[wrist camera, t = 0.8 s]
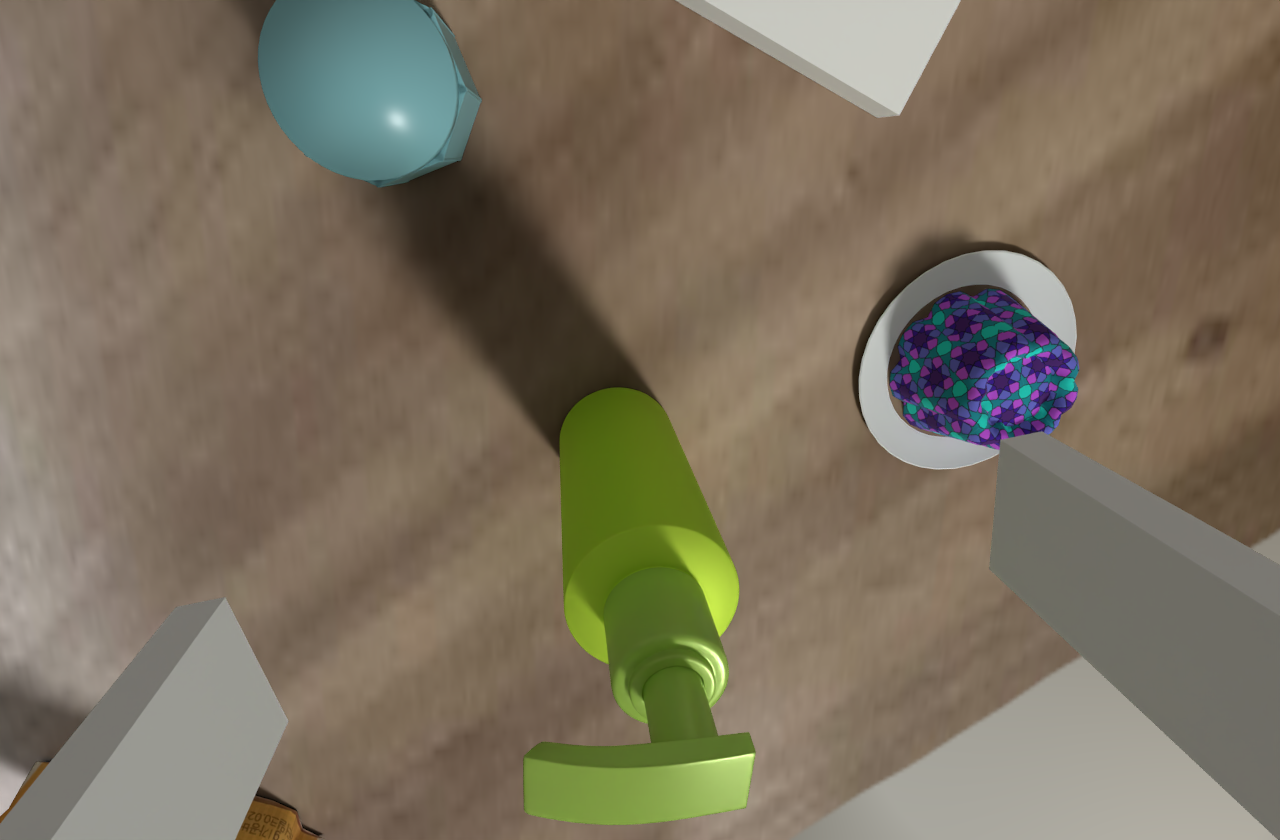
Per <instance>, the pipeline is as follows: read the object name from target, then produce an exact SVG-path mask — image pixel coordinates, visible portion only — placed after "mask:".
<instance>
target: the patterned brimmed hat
mask: <svg viewBox="0 0 1280 840" xmlns="http://www.w3.org/2000/svg"><path fill="white" fill-rule="evenodd" d="M969 285H992V286H997V287H1001V288H1003V289H1006V290H1008V291H1010V292H1012V293H1013V294H1015V295H1016V296H1017V297H1019V298H1020V299H1021V300H1022V301H1023V302H1024V303H1025V304H1026V306H1027V307H1028V308H1029V310H1030V312H1031V313H1032V314H1031V313H1030V312H1028V311H1027V310H1026V309H1025V308H1023V307H1022V306H1021V305H1020V304H1019V303H1017V302H1016V301H1015V300H1014V299H1012V298H1011V297H1010V296H1009V295H1007V294H1006V293H1004V292H1002V291H1001V290H997V289H985V290H984V291H982V292H980V293H979V294H977V295H975V296H974V297H971V296H969V295H967V294H965V293H963V292H961V291H960V292H955V293H951V294H947V295H946V296H944V297H943V298H941V299H940V300H938V301H937V302H936V303H935V304H934V306H933V308H932V310H931V312H930V314H929V316H928V318H925V319H921V320H918V321H915V322H913V323H912V324H911V325H910V326H909V327H908V328H907V330H906V331H905V332H904V333H903V335H902V337H901V340H900V342H899V345H898V349H899V354H900V359H901V360H900V361H899V363H898V364H897V365H896V366H895V368H894V369H893V370H892V371H891V376H890V384H889V385H890V388H891V391H892V395H893V396H894V397H896V398H897V399H899V400H901V401H903V402H904V411H903V416H904V417H905V418H906V420H907V421H908V422H909V424H911V425H913V426H915V427H918V428H920V429H923V430H927V431H930V432H934V433H937V434H941V435H944V436H948V437H937V436H930V435H927V434H924V433H921V432H918V431H916V430H915V429H913V428H911V427H910V426H908V425H907V424H906V423H905V422H904V421H903V420H902V419H901V418H900V417H899V415H898V414H897V412H896V411H895V410H894V408H893V405H892V403H891V400H890V398H889V393H888V388H887V370H888V364H889V359H890V356H891V353H892V350H893V347H894V345H895V343H896V341H897V339H898V337H899V335H900V333H901V332H902V330H903V329H904V328H905V326H906V325H907V323H908V322H909V321H910V319H911V318H912V317H913V316H914V315H915V314H916V313H917V312H918V311H919V310H920V309H921V308H923V307H924V306H925V305H927V304H928V303H929V302H931V301H932V300H933V299H935V298H937V297H939V296H940V295H942V294H944V293H946V292H948V291H951V290H954V289H957V288H959V287H964V286H969ZM1076 338H1077V336H1076V318H1075V314H1074V310H1073V306H1072V302H1071V300H1070V298H1069V296H1068V294H1067V292H1066V290H1065V288H1064V286H1063V285H1062V283H1061V282H1060V281H1059V280H1058V278H1057V277H1056V276H1055V275H1054V273H1053V272H1051V271H1050V270H1049V269H1048V268H1046V267H1045V266H1044V265H1042V264H1041V263H1040V262H1038V261H1036V260H1034V259H1032V258H1029V257H1027V256H1025V255H1023V254H1018V253H1014V252H1009V251H996V250H984V251H979V252H973V253H968V254H963V255H961V256H958V257H955V258H952V259H950V260H947V261H944V262H942V263H941V264H939V265H937V266H935V267H933V268H932V269H930V270H928V271H926V272H925V273H923V274H922V275H921V276H919V277H918V278H917V279H915V280H914V281H913V282H912V283H910V284H909V285H908V286H907V287H906V288H905V289H904V290H903V291H902V292H901V293H900V294H899V295H898V296H897V297H896V298H895V299H894V300H893V301H892V302H891V303H890V305H889V306H888V308H887V309H886V310H885V312H884V313H883V315H882V316H881V317H880V319H879V320H878V322H877V324H876V326H875V328H874V330H873V332H872V334H871V336H870V338H869V339H868V342H867V345H866V348H865V351H864V354H863V357H862V362H861V368H860V374H859V399H860V404H861V409H862V414H863V416H864V419H865V421H866V423H867V426H868V428H869V430H870V432H871V433H872V434H873V436H874V437H875V439H876V440H877V441H878V443H879V444H880V445H881V446H882V447H884V448H885V449H886V450H887V451H888V452H889V453H890V454H892V455H893V456H895V457H897V458H898V459H900V460H902V461H904V462H906V463H909V464H912V465H915V466H918V467H923V468H930V469H955V468H960V467H965V466H970V465H973V464H976V463H979V462H982V461H984V460H987V459H990V458H992V457H994V456H995V455H997V454H999V450H1000V440H1002V439H1007V438H1012V437H1017V436H1021V435H1026V434H1031V433H1036V432H1041V431H1042V432H1044V433H1046V434H1047V435H1049V434H1050V433H1051V432H1052V431H1053V430H1054V429H1055V428H1056V427H1057V426H1058V424H1059V420H1060V417H1061V415H1062V414H1063V413H1065V412H1066V411H1067V410H1069V409H1070V408H1071V407H1072V405H1073V404H1074V402H1075V400H1076V398H1077V393H1078V387H1077V385H1076V383H1075V382H1074V380H1075V378H1076V376H1077V374H1078V371H1079V365H1078V359H1077V357H1076V355H1075V346H1076Z"/></svg>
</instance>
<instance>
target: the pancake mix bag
mask: <svg viewBox="0 0 1280 840" xmlns="http://www.w3.org/2000/svg"><path fill="white" fill-rule="evenodd" d="M49 763H50V762H35V764H34V766H33V767H32V769H31V771H30V772H29V774H28V776H27V777H26V779H25V781H24V783H23V784H22V786H21V788H20V789H19V791H18V793H17V795H16V797H15V798H14V800H13V802H12V804H11V805H10V807H9V809H8V810H7V811H6V812H5V813H3V814H2V815H1V816H0V823H1V822H2V821H3V820H4V818H5V817H6V816H7V815H8V813H9V812H10V811H11V810H12V808H13V807H14V806H15V805H16V804H17V802H18V801H19V800H20V799H21V797H22V796H23V795H24V794H25V792H26V791H27V790H28V789H29V787H30V786H31V785H32V784H33V783H34V781H35V780H36V779H37V778H38V776H39V775H40V774H41V773H42V771H43V770H44V769H45V768H46V767H47V765H48V764H49ZM235 840H325V839H323V838H321V837H319V836H317V835H315V834H313V833H311V832H309V831H307V830H305V829H303V827H302V825H301V822H300V819H299V816H298V813H297V811H295V810H293V809H291V808H288V807H286V806H284V805H282V804H279V803H277V802H275V801H272V800H269V799H266V798H262V797H259V796H254V799H253V801H252V803H251V805H250V808H249V810H248V812H247V814H246V816H245V819H244V821H243V823H242V825H241V828H240V830H239V832H238V834H237V836H236V839H235Z"/></svg>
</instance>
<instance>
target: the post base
mask: <svg viewBox="0 0 1280 840" xmlns="http://www.w3.org/2000/svg"><path fill="white" fill-rule="evenodd" d="M676 1H677V2H679V3H681V4H682V5H684V6H686V7H688V8H689V9H691V10H693V11H694V12H696V13H698V14H700V15H701V16H703V17H705V18H706V19H708V20H710V21H712V22H713V23H715V24H717V25H719V26H720V27H722V28H724V29H725V30H727V31H729V32H731V33H732V34H734V35H736V36H737V37H739V38H741V39H743V40H744V41H746V42H748V43H750V44H751V45H753V46H755V47H756V48H758V49H760V50H762V51H763V52H765V53H767V54H768V55H770V56H772V57H774V58H775V59H777V60H779V61H780V62H782V63H784V64H786V65H787V66H789V67H791V68H793V69H794V70H796V71H798V72H799V73H801V74H803V75H805V76H806V77H808V78H810V79H811V80H813V81H815V82H817V83H818V84H820V85H822V86H823V87H825V88H827V89H829V90H830V91H832V92H834V93H836V94H837V95H839V96H841V97H842V98H844V99H846V100H848V101H849V102H851V103H853V104H854V105H856V106H858V107H860V108H861V109H863V110H865V111H866V112H868V113H870V114H872V115H873V116H875V117H877V118H880V117H888V116H897V115H900V113H901V111H902V109H903V108H904V106H905V104H906V102H907V100H908V98H909V96H910V94H911V93H912V91H913V89H914V87H915V85H916V83H917V81H918V80H919V78H920V76H921V74H922V72H923V70H924V68H925V66H926V65H927V63H928V61H929V59H930V57H931V55H932V53H933V51H934V50H935V48H936V46H937V44H938V42H939V40H940V38H941V36H942V35H943V33H944V31H945V29H946V27H947V25H948V23H949V21H950V20H951V18H952V16H953V14H954V12H955V10H956V8H957V6H958V5H959V3H960V1H961V0H676Z"/></svg>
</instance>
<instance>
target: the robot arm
mask: <svg viewBox="0 0 1280 840" xmlns="http://www.w3.org/2000/svg"><path fill="white" fill-rule="evenodd" d="M989 569H990V570H991V571H992V572H993V573H994V574H995V575H996V576H997V577H998V578H999V579H1000V580H1001V581H1003V582H1004V583H1005V584H1006V585H1007V586H1008V587H1009V588H1010V589H1011V590H1012V591H1013V592H1014V593H1015V594H1016V595H1017V596H1019V597H1020V598H1021V599H1022V600H1023V601H1024V602H1025V603H1026V604H1027V605H1028V606H1029V607H1030V608H1031V609H1032V610H1033V611H1035V612H1036V613H1037V614H1038V615H1039V616H1040V617H1041V618H1042V619H1043V620H1044V621H1045V622H1046V623H1047V624H1048V625H1049V626H1051V627H1052V628H1053V629H1054V630H1055V631H1056V632H1057V633H1058V634H1059V635H1060V636H1061V637H1062V638H1063V639H1064V640H1065V641H1067V642H1068V643H1069V644H1070V645H1071V646H1072V647H1073V648H1074V649H1075V650H1076V651H1077V652H1078V653H1079V654H1080V655H1081V656H1083V657H1084V658H1085V659H1086V660H1087V661H1088V662H1089V663H1090V664H1091V665H1092V666H1093V667H1094V668H1095V669H1096V670H1097V671H1099V672H1100V673H1101V674H1102V675H1103V676H1104V677H1105V678H1106V679H1107V680H1108V681H1109V682H1110V683H1111V684H1112V685H1113V686H1115V687H1116V688H1117V689H1118V690H1119V691H1120V692H1121V693H1122V694H1123V695H1124V696H1125V697H1126V698H1127V699H1129V701H1131V702H1132V703H1133V704H1134V705H1135V706H1136V707H1137V708H1138V709H1139V710H1140V711H1141V712H1142V713H1143V714H1144V715H1145V716H1147V717H1148V718H1149V719H1150V720H1151V721H1152V722H1153V723H1154V724H1155V725H1156V726H1157V727H1158V728H1159V729H1160V730H1162V731H1163V732H1164V733H1165V734H1166V735H1167V736H1168V737H1169V738H1170V739H1171V740H1172V741H1173V742H1174V743H1175V744H1176V745H1178V746H1179V747H1180V748H1181V749H1182V750H1183V751H1184V752H1185V753H1186V754H1187V755H1188V756H1189V757H1190V758H1191V759H1192V760H1194V761H1195V762H1196V763H1197V764H1198V765H1199V766H1200V767H1201V768H1202V769H1203V770H1204V771H1205V772H1206V773H1207V774H1209V775H1210V776H1211V777H1212V778H1213V779H1214V780H1215V781H1216V782H1217V783H1218V784H1219V785H1220V786H1222V788H1223V789H1224V790H1226V791H1227V792H1228V793H1229V794H1230V795H1231V796H1232V797H1233V798H1234V799H1235V800H1236V801H1237V802H1238V803H1239V804H1240V805H1242V806H1243V807H1244V808H1245V809H1246V810H1247V811H1248V812H1249V813H1250V814H1251V815H1252V816H1253V817H1254V818H1255V819H1257V820H1258V821H1259V822H1260V823H1261V824H1262V825H1263V826H1264V827H1265V828H1266V829H1267V830H1268V831H1269V832H1270V833H1272V835H1274V836H1275V837H1276V838H1277V839H1278V840H1280V565H1279V564H1277V563H1276V562H1274V561H1272V560H1270V559H1268V558H1267V557H1265V556H1263V555H1261V554H1260V553H1258V552H1256V551H1254V550H1252V549H1251V548H1249V547H1247V546H1245V545H1244V544H1242V543H1240V542H1238V541H1236V540H1235V539H1233V538H1231V537H1229V536H1227V535H1226V534H1224V533H1222V532H1220V531H1219V530H1217V529H1215V528H1213V527H1211V526H1210V525H1208V524H1206V523H1204V522H1203V521H1201V520H1199V519H1197V518H1195V517H1194V516H1192V515H1190V514H1188V513H1186V512H1185V511H1183V510H1181V509H1179V508H1178V507H1176V506H1174V505H1172V504H1170V503H1169V502H1167V501H1165V500H1163V499H1162V498H1160V497H1158V496H1156V495H1154V494H1153V493H1151V492H1149V491H1147V490H1145V489H1144V488H1142V487H1140V486H1138V485H1137V484H1135V483H1133V482H1131V481H1129V480H1128V479H1126V478H1124V477H1122V476H1121V475H1119V474H1117V473H1115V472H1113V471H1112V470H1110V469H1108V468H1106V467H1104V466H1103V465H1101V464H1099V463H1097V462H1096V461H1094V460H1092V459H1090V458H1088V457H1087V456H1085V455H1083V454H1081V453H1080V452H1078V451H1076V450H1074V449H1072V448H1071V447H1069V446H1067V445H1065V444H1064V443H1062V442H1060V441H1058V440H1056V439H1055V438H1053V437H1051V436H1049V435H1047V434H1046V433H1044V432H1042V431H1041V432H1036V433H1031V434H1026V435H1021V436H1017V437H1012V438H1007V439H1002V440H1000V450H999V462H998V473H997V485H996V497H995V508H994V520H993V532H992V543H991V555H990V567H989ZM287 723H288V719H287V717H286V715H285V713H284V711H283V710H282V708H281V706H280V704H279V702H278V700H277V698H276V696H275V694H274V692H273V690H272V688H271V686H270V684H269V682H268V680H267V678H266V676H265V674H264V672H263V670H262V668H261V666H260V664H259V663H258V661H257V659H256V657H255V655H254V653H253V651H252V649H251V647H250V645H249V643H248V641H247V639H246V637H245V635H244V633H243V631H242V629H241V627H240V625H239V623H238V621H237V619H236V617H235V615H234V614H233V612H232V610H231V608H230V606H229V604H228V602H227V600H226V598H225V597H223V598H218V599H214V600H209V601H204V602H199V603H194V604H189V605H184V606H179V607H176V608H175V609H174V610H173V611H172V612H171V614H170V615H169V616H168V617H167V619H166V620H165V621H164V622H163V624H162V625H161V626H160V627H159V628H158V630H157V631H156V632H155V633H154V635H153V636H152V637H151V638H150V640H149V641H148V642H147V643H146V645H145V646H144V647H143V648H142V649H141V651H140V652H139V653H138V654H137V656H136V657H135V658H134V659H133V661H132V662H131V663H130V664H129V665H128V667H127V668H126V669H125V670H124V672H123V673H122V674H121V675H120V677H119V678H118V679H117V680H116V681H115V683H114V684H113V685H112V686H111V688H110V689H109V690H108V691H107V693H106V694H105V695H104V696H103V698H102V699H101V700H100V701H99V702H98V704H97V705H96V706H95V707H94V709H93V710H92V711H91V712H90V714H89V715H88V716H87V717H86V718H85V720H84V721H83V722H82V723H81V725H80V726H79V727H78V728H77V730H76V731H75V732H74V733H73V734H72V736H71V737H70V738H69V739H68V741H67V742H66V743H65V744H64V746H63V747H62V748H61V749H60V751H59V752H58V753H57V754H56V755H55V757H54V758H53V759H52V760H51V762H50V763H49V764H48V765H47V767H46V768H45V769H44V770H43V771H42V773H41V774H40V775H39V776H38V778H37V779H36V780H35V781H34V783H33V784H32V785H31V786H30V787H29V789H28V790H27V791H26V792H25V794H24V795H23V796H22V797H21V799H20V800H19V801H18V802H17V804H16V805H15V806H14V807H13V808H12V810H11V811H10V812H9V813H8V815H7V816H6V817H5V818H4V820H3V821H2V822H1V823H0V840H235V839H236V836H237V834H238V832H239V830H240V828H241V825H242V823H243V821H244V819H245V816H246V814H247V812H248V810H249V808H250V805H251V803H252V801H253V799H254V796H255V794H256V792H257V790H258V788H259V785H260V783H261V781H262V779H263V776H264V774H265V772H266V770H267V768H268V765H269V763H270V761H271V759H272V757H273V754H274V752H275V750H276V748H277V745H278V743H279V741H280V739H281V737H282V734H283V732H284V730H285V728H286V725H287Z"/></svg>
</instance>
